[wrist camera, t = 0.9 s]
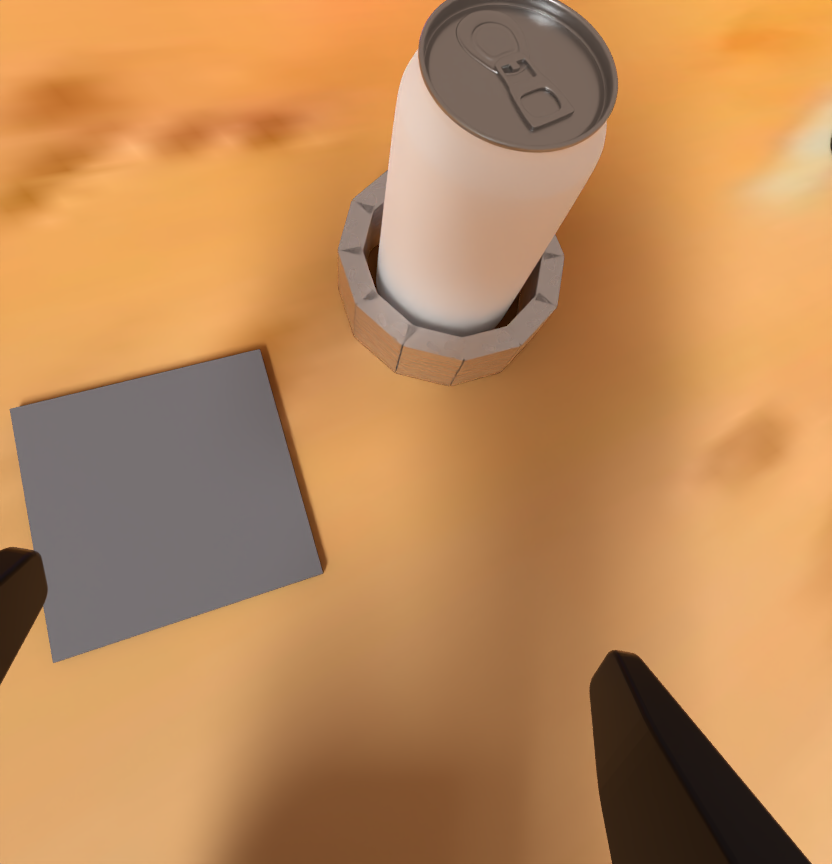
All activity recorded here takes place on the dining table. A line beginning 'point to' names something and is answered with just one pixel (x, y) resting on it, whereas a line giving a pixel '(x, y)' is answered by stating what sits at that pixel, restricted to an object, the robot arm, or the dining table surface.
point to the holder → (424, 347)
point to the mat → (160, 500)
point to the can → (488, 155)
